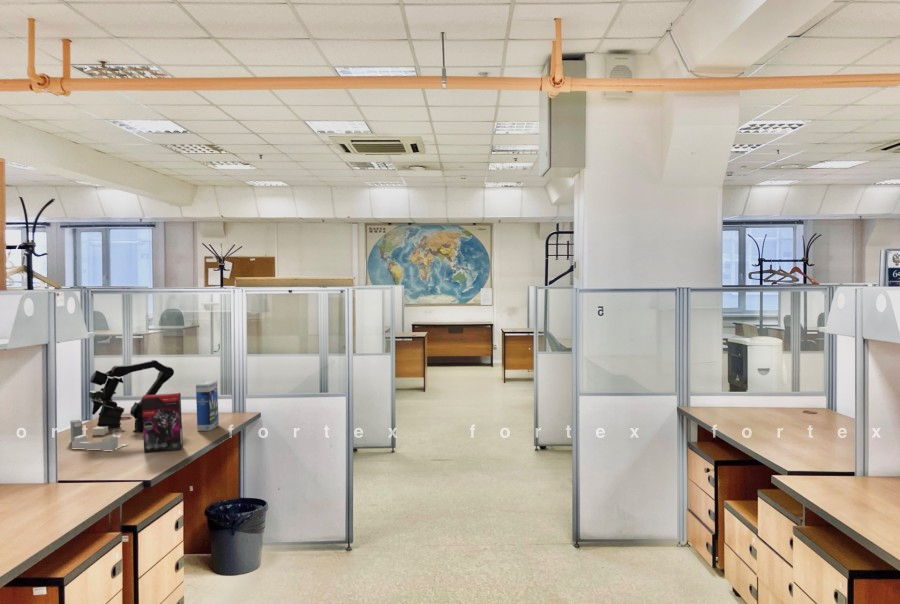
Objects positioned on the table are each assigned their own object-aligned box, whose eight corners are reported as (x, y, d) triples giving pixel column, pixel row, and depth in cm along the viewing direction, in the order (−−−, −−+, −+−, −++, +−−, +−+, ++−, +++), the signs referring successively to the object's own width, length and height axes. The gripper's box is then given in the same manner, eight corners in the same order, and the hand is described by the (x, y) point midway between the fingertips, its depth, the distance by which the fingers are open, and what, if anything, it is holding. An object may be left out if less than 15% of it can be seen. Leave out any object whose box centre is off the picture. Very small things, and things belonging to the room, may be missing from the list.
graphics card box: (142, 453, 296) (140, 397, 295) (145, 449, 303) (143, 394, 301) (181, 450, 300) (179, 395, 299) (183, 446, 307) (181, 392, 306)
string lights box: (210, 431, 338) (208, 384, 336) (196, 431, 337) (194, 384, 336) (219, 425, 351) (217, 380, 350) (205, 425, 351) (204, 380, 350)
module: (80, 440, 322) (79, 419, 322) (82, 442, 318) (81, 421, 318) (71, 441, 319) (70, 420, 319) (73, 443, 315) (72, 422, 315)
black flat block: (92, 426, 346) (104, 401, 348) (116, 434, 350) (128, 409, 351) (91, 427, 343) (103, 402, 344) (115, 435, 346) (127, 411, 348)
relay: (108, 433, 336) (108, 426, 336) (103, 435, 331) (103, 428, 331) (97, 433, 336) (97, 426, 336) (92, 436, 331) (92, 428, 331)
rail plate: (89, 442, 317) (88, 432, 316) (128, 445, 311) (128, 434, 311) (69, 449, 305) (69, 438, 305) (110, 451, 300) (110, 440, 299)
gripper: (87, 380, 329) (74, 408, 325) (103, 387, 318) (89, 416, 314) (107, 386, 337) (94, 413, 334) (123, 393, 326) (110, 421, 322)
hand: (96, 416), depth 326 cm, fingers open, 9 cm apart
